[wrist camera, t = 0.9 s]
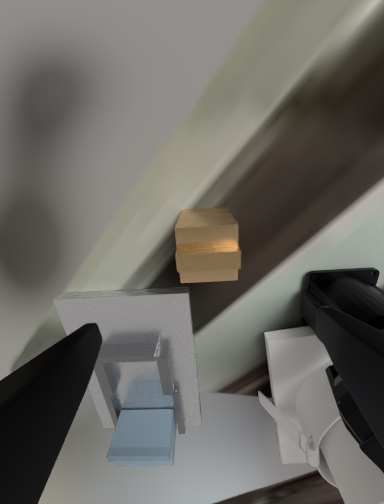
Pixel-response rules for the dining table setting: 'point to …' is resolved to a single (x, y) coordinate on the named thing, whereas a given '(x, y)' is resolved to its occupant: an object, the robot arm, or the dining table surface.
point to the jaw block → (207, 245)
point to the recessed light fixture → (315, 417)
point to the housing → (144, 438)
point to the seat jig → (139, 351)
